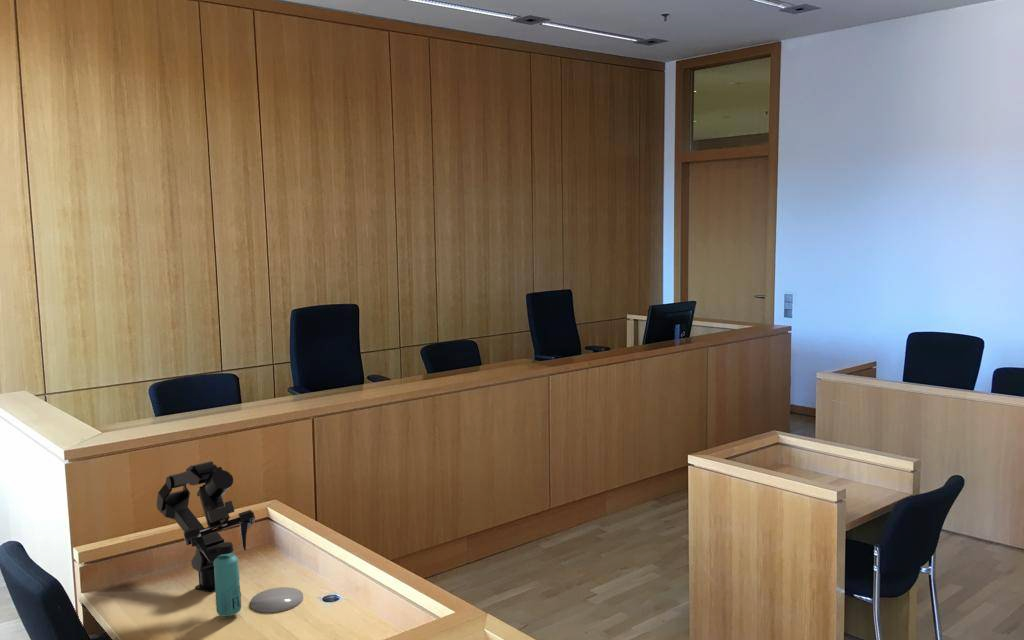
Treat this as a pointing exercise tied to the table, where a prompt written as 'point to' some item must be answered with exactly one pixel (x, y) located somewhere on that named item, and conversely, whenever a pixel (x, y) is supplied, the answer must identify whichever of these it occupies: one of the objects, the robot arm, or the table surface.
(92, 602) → the table surface
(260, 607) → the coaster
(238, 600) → the beverage bottle
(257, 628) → the table surface
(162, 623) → the table surface
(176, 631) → the table surface
